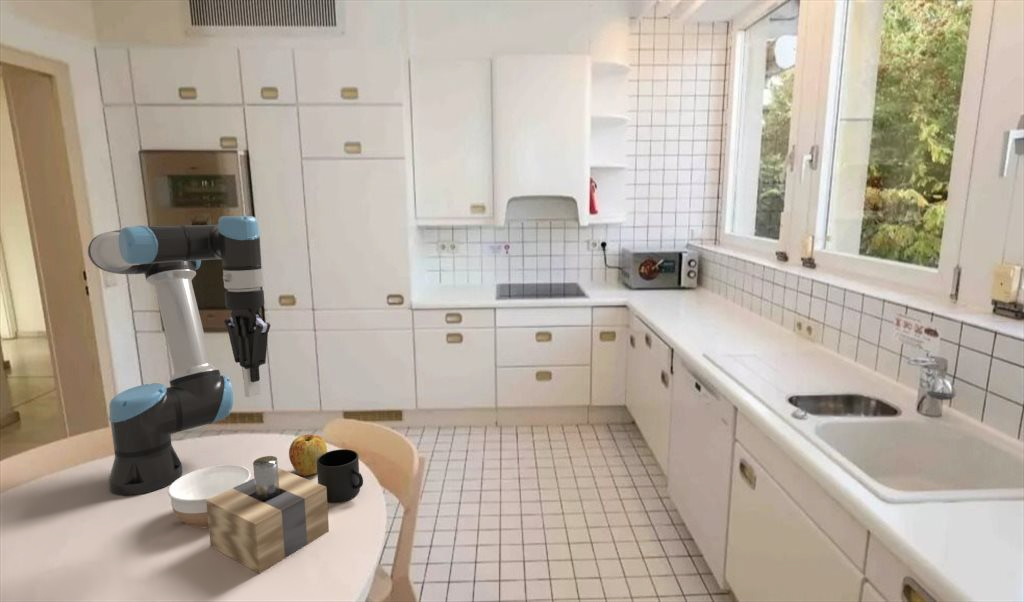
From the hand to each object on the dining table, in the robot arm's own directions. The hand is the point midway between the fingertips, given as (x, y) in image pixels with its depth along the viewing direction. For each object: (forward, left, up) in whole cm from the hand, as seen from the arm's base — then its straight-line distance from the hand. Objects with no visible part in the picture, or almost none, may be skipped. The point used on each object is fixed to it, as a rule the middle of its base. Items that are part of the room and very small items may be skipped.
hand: (252, 394), depth 119 cm
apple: (-4, +16, -27) cm, 32 cm away
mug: (+12, +13, -27) cm, 32 cm away
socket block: (+13, -7, -27) cm, 30 cm away
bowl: (-6, -8, -27) cm, 28 cm away
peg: (+13, -7, -18) cm, 24 cm away
